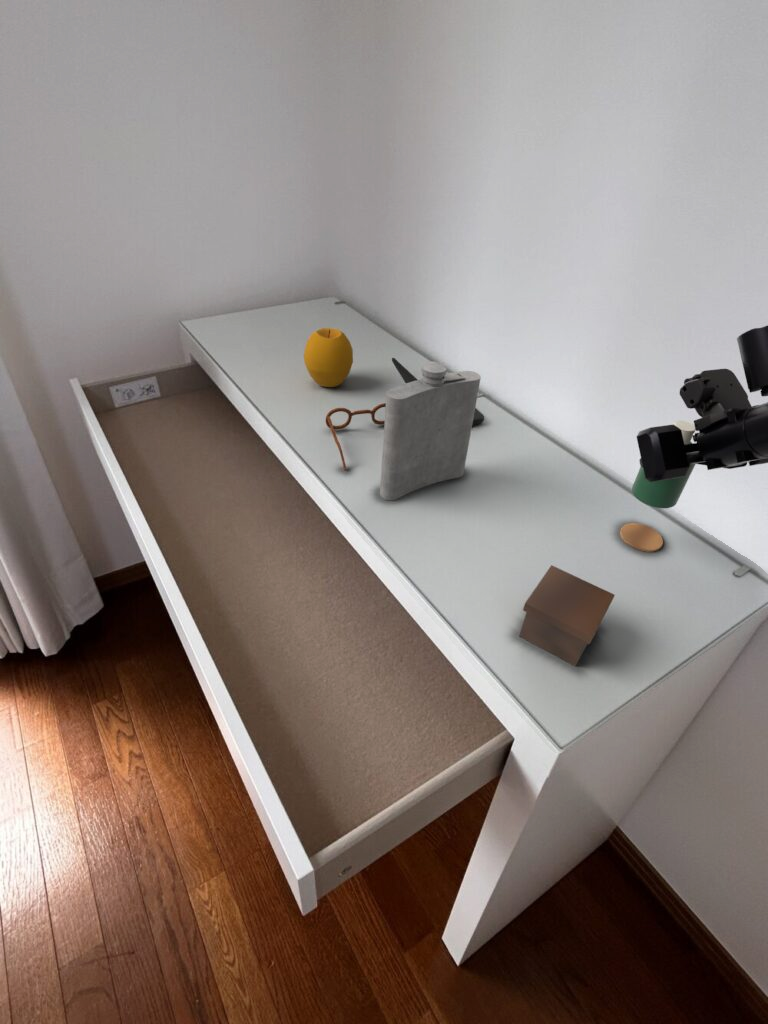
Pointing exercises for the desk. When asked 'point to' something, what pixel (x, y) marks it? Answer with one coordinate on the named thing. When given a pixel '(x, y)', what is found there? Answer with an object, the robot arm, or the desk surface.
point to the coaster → (641, 537)
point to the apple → (328, 357)
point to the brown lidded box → (564, 614)
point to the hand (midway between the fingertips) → (660, 460)
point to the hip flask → (427, 429)
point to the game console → (410, 378)
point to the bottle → (665, 490)
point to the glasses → (329, 423)
